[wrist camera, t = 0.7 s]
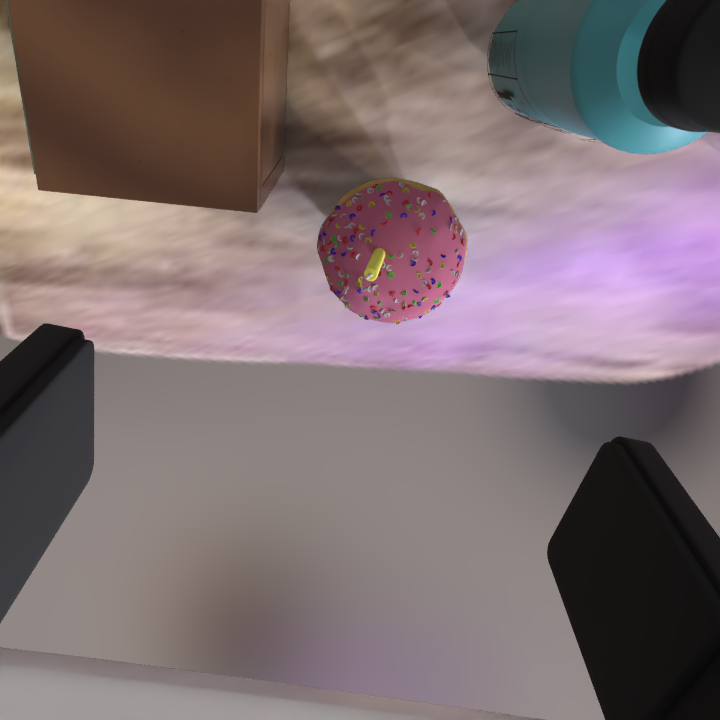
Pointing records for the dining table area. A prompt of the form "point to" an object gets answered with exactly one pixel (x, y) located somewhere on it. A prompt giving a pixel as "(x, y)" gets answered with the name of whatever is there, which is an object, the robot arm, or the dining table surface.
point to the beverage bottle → (613, 69)
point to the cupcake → (392, 249)
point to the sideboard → (155, 97)
